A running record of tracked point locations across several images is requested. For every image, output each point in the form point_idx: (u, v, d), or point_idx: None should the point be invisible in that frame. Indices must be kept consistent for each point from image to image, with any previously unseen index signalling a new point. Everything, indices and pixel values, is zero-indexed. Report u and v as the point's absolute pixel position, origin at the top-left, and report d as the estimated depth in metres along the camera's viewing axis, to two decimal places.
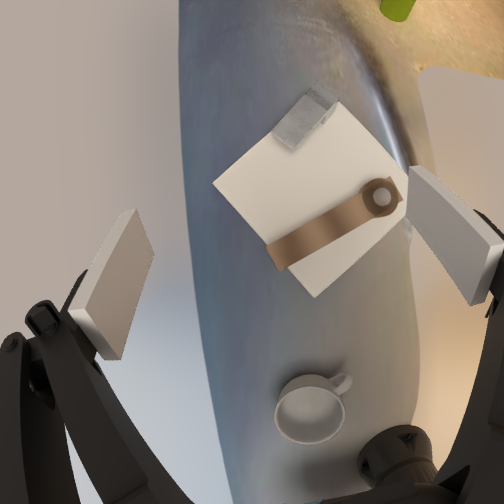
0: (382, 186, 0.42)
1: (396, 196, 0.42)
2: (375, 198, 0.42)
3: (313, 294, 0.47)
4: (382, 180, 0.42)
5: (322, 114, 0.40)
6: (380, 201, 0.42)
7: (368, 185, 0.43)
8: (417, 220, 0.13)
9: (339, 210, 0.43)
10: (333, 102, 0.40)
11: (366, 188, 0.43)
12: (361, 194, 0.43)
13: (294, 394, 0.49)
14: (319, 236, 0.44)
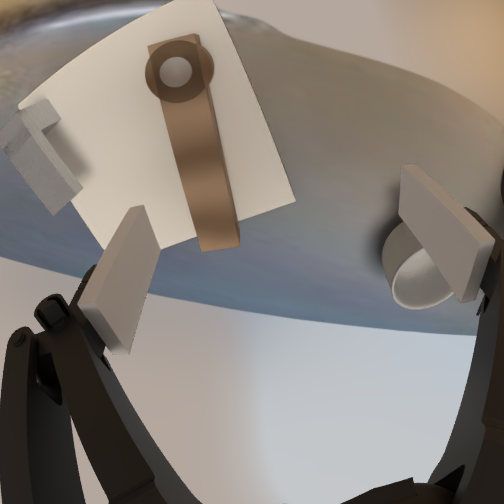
0: (160, 64, 0.22)
1: (185, 43, 0.21)
2: (174, 85, 0.22)
3: (290, 200, 0.33)
4: (151, 61, 0.22)
5: (35, 143, 0.22)
6: (182, 77, 0.22)
7: (152, 87, 0.23)
8: (409, 218, 0.14)
9: (179, 143, 0.26)
10: (21, 123, 0.21)
11: (156, 91, 0.23)
12: (163, 102, 0.24)
13: None
14: (208, 184, 0.29)
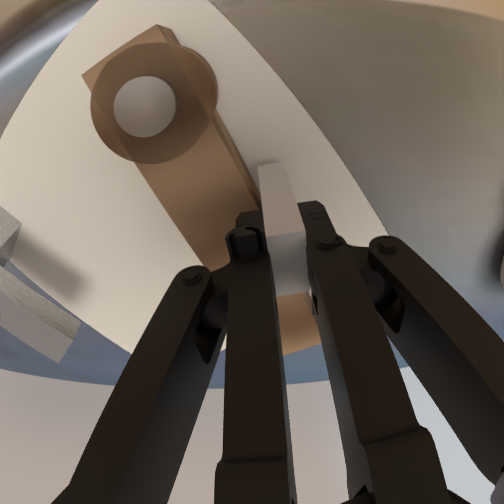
0: (114, 99, 0.12)
1: (145, 48, 0.10)
2: (150, 131, 0.12)
3: None
4: (96, 100, 0.12)
5: None
6: (159, 114, 0.11)
7: (115, 144, 0.13)
8: None
9: (195, 229, 0.16)
10: None
11: (124, 151, 0.13)
12: (143, 166, 0.14)
13: None
14: None
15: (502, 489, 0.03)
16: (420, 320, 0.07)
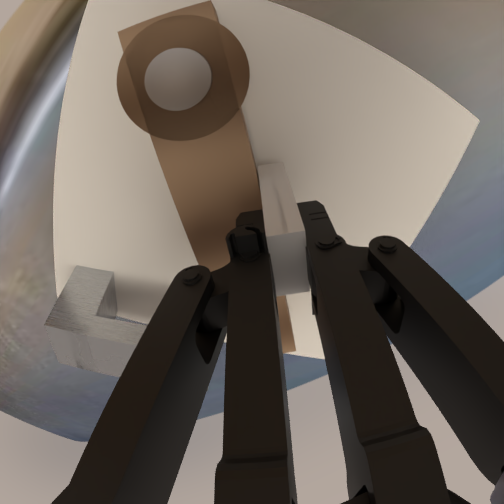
0: (145, 64, 0.11)
1: (193, 21, 0.10)
2: (177, 106, 0.11)
3: (474, 125, 0.15)
4: (126, 61, 0.11)
5: (101, 340, 0.16)
6: (192, 90, 0.11)
7: (134, 112, 0.12)
8: None
9: (195, 216, 0.15)
10: (62, 331, 0.16)
11: (142, 121, 0.12)
12: (158, 141, 0.13)
13: None
14: None
15: (502, 489, 0.03)
16: (420, 320, 0.07)
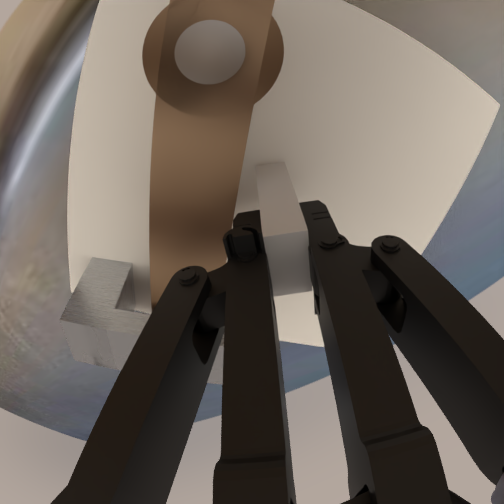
0: (184, 25, 0.10)
1: (249, 4, 0.09)
2: (198, 77, 0.10)
3: (495, 109, 0.14)
4: (168, 13, 0.09)
5: (122, 334, 0.16)
6: (218, 68, 0.10)
7: (151, 66, 0.11)
8: None
9: (165, 191, 0.14)
10: (80, 326, 0.15)
11: (155, 78, 0.11)
12: (161, 104, 0.12)
13: None
14: None
15: (503, 489, 0.03)
16: (422, 319, 0.07)
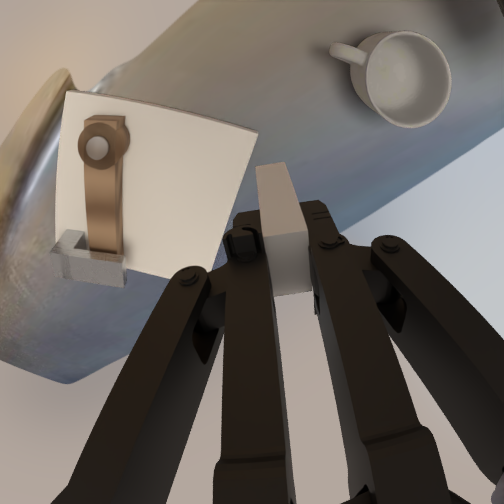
0: (89, 137, 0.30)
1: (108, 127, 0.30)
2: (94, 157, 0.31)
3: (254, 137, 0.35)
4: (83, 132, 0.29)
5: (74, 257, 0.36)
6: (100, 154, 0.30)
7: (81, 152, 0.31)
8: None
9: (90, 197, 0.34)
10: (57, 254, 0.35)
11: (82, 156, 0.31)
12: (85, 165, 0.32)
13: (388, 92, 0.32)
14: (104, 230, 0.37)
15: (503, 489, 0.03)
16: (422, 319, 0.07)
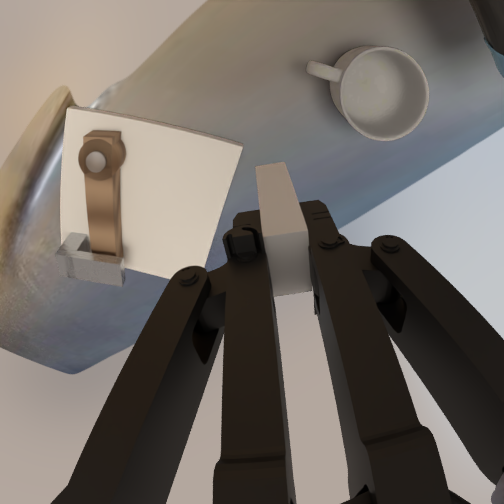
0: (88, 151, 0.33)
1: (105, 143, 0.33)
2: (93, 170, 0.34)
3: (239, 150, 0.38)
4: (83, 147, 0.33)
5: (78, 259, 0.40)
6: (98, 167, 0.34)
7: (81, 165, 0.34)
8: None
9: (91, 205, 0.38)
10: (62, 256, 0.39)
11: (83, 169, 0.35)
12: (86, 177, 0.35)
13: (369, 103, 0.35)
14: (104, 234, 0.40)
15: (503, 489, 0.03)
16: (422, 319, 0.07)
